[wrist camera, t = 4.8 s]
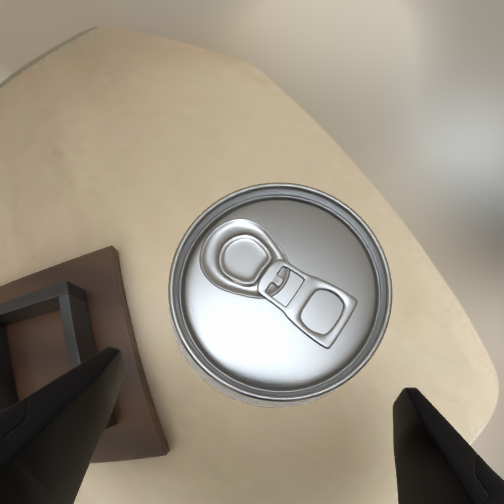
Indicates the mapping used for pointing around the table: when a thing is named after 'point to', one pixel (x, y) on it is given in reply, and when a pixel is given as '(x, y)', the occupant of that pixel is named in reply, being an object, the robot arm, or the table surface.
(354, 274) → the can
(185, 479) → the table surface
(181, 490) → the table surface
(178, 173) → the table surface
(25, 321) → the dark brown square tray
